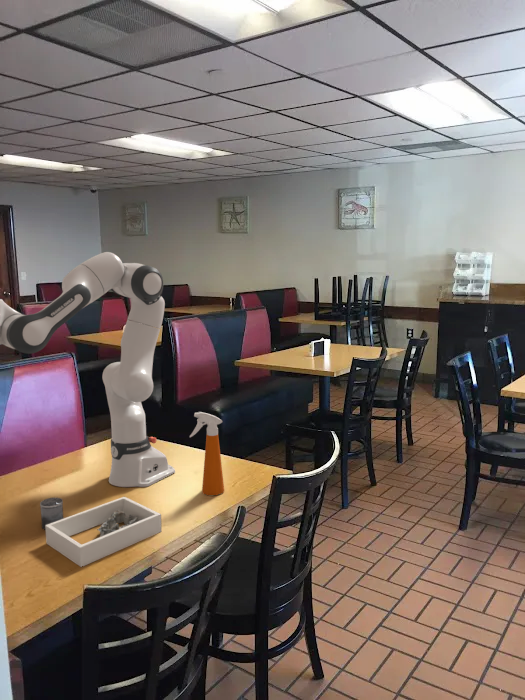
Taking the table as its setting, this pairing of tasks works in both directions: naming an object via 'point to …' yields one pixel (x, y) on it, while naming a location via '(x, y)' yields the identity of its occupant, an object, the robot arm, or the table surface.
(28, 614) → the table surface
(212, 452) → the spray bottle
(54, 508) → the metal tin
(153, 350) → the robot arm
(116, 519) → the egg carton
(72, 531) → the tote
